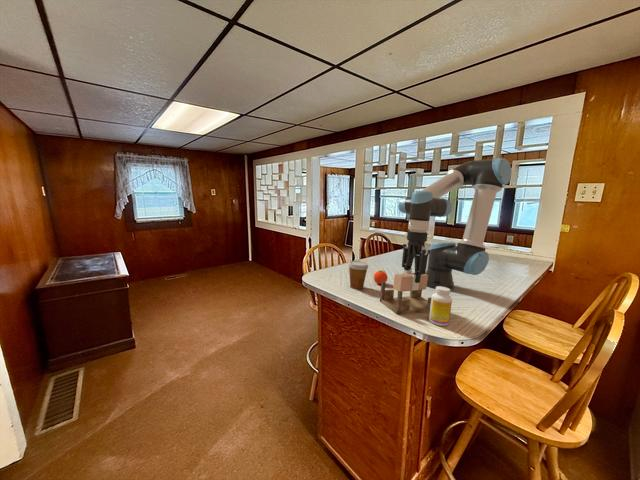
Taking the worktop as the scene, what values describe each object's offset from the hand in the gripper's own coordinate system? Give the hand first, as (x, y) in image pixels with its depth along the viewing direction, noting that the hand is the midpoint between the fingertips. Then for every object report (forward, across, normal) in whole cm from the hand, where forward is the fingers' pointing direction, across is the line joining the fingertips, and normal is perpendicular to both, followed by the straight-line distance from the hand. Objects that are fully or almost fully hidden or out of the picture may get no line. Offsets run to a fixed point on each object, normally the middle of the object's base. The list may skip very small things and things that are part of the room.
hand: (410, 287), depth 106 cm
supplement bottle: (+8, +15, +2) cm, 17 cm away
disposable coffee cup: (+8, -25, -12) cm, 29 cm away
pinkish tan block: (0, 0, 0) cm, 1 cm away
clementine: (+8, -28, +4) cm, 29 cm away
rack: (+8, 0, 0) cm, 8 cm away
